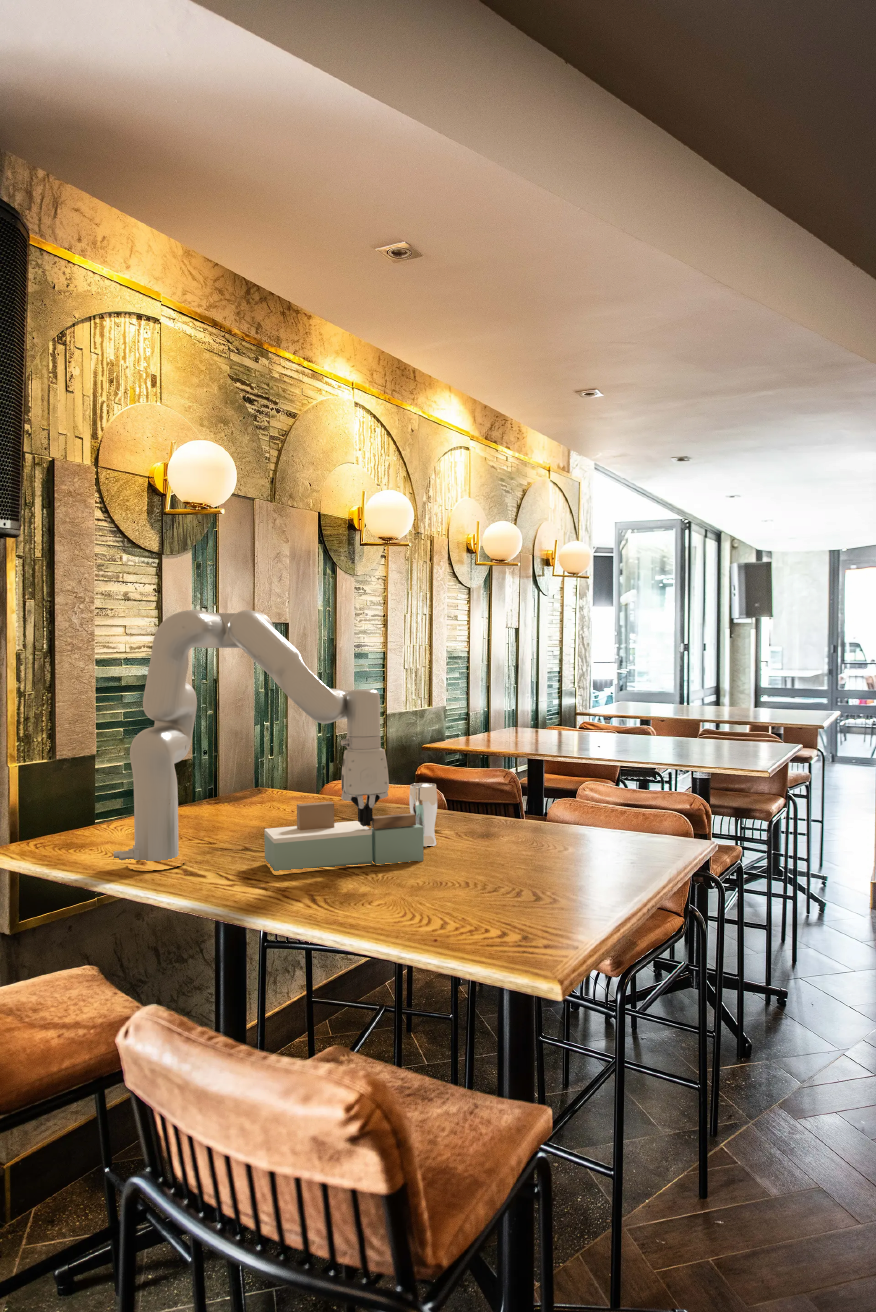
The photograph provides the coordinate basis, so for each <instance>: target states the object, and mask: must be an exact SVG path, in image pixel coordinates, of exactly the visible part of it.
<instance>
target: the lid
mask: <svg viewBox="0 0 876 1312" xmlns="http://www.w3.org/2000/svg"><path fill="white" fill-rule="evenodd" d="M263 832H264V835H265V834H266V835H267V836H268V837H269V839H270V840H271V841H272V842H273V843H284V842H295V841H305V840H316V839H327V838H338V837H348V836H359V835H370V834H372V830H371V828H370V827H369V826H362V825H360V822H358V820H353V821H339V822H335V803H334V802H332V801H321V802H308V803H297V804H296V825H294V826H292V825H291V826H282V827H281V826H280V827H270V828H264V831H263Z"/></svg>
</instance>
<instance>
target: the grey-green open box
mask: <svg viewBox="0 0 876 1312" xmlns="http://www.w3.org/2000/svg"><path fill="white" fill-rule="evenodd" d="M370 829H371V830H372V834H370V835H359V836H348V837H338V838H327V839H316V840H305V841H295V842H284V843H273V842H272V841H271V840H270V839H269V837H268V836H267V835H266V834H265V833H264V860H265V859H266V861H267V862H268V863H269V864H270V866H271V867H272V868H273V870H274V871H279V870H291V869H303V868H317V867H318V868H319V867H335V866H346V865H358V864H372V865H373V863H372V861H373V862H374V863H375V864H385V863H398V862H408V863H410V862H409V861H418V862H424V861H423V860H425V859H424V858H425V857H424V856H425V855H424V848H423V826H421V825H419V824H416V825H414V826H403V827H392V828H381V829H373V828H372V827H371V828H370Z"/></svg>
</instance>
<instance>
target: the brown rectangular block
mask: <svg viewBox="0 0 876 1312" xmlns="http://www.w3.org/2000/svg"><path fill="white" fill-rule="evenodd" d="M414 825H416V815H415V814H413V813H402V814H400V813H399V814H389V815H376V816H375V815H374V816H373V820H372V821H371V826H370V827H371V828H373V829H381V828H392V827H403V826H414Z"/></svg>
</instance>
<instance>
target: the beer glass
mask: <svg viewBox="0 0 876 1312" xmlns="http://www.w3.org/2000/svg"><path fill="white" fill-rule="evenodd" d="M409 812H410V813H413V814H415V815H416V824H419V825H421V826H423V847H425V848H427V847H426V846H433V847H435V846H437V840H436V834H435V828H436V827H435V826H436V820H437V819H436V818H437V813H438V791H437V784H436V783H432V782H431V783H430V782H419V783H412V784H410V786H409ZM410 813H409V814H410Z"/></svg>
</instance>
